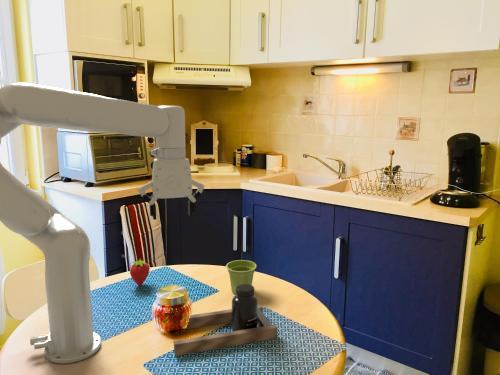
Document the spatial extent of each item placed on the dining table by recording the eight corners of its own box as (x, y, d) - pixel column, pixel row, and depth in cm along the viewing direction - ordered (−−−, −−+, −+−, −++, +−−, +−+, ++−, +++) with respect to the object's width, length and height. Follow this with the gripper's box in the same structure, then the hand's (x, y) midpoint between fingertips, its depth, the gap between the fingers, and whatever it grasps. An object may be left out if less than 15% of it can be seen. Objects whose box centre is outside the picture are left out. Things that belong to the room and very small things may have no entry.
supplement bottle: (254, 338, 108) (255, 295, 106) (228, 335, 110) (228, 292, 107) (259, 324, 115) (260, 283, 112) (234, 321, 116) (235, 280, 114)
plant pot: (228, 299, 129) (228, 272, 127) (224, 286, 138) (224, 260, 136) (258, 296, 131) (259, 270, 129) (252, 283, 140) (252, 259, 138)
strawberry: (153, 281, 141) (152, 252, 139) (145, 291, 133) (144, 261, 131) (135, 280, 141) (134, 252, 139) (127, 290, 134) (125, 260, 132)
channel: (175, 355, 101) (174, 344, 100) (168, 328, 112) (167, 318, 111) (277, 338, 109) (277, 327, 108) (260, 314, 120) (261, 304, 119)
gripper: (137, 156, 105) (140, 223, 108) (206, 154, 110) (207, 218, 113) (135, 152, 112) (138, 215, 115) (200, 151, 117) (201, 211, 120)
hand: (172, 217), depth 114 cm, fingers open, 9 cm apart
